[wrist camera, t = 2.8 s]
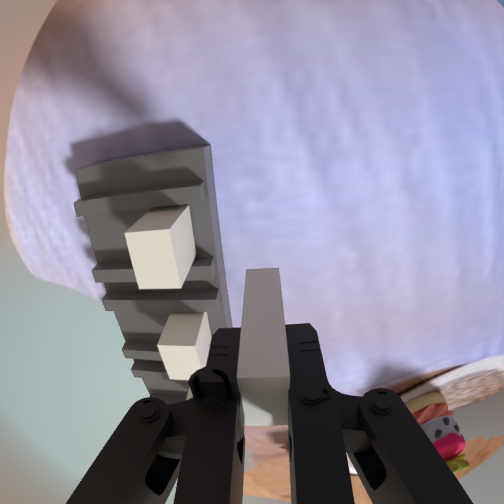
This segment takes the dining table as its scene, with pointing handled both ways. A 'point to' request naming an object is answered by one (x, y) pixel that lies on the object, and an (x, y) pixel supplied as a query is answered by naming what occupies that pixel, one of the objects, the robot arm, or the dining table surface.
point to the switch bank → (119, 262)
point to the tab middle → (185, 343)
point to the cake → (440, 428)
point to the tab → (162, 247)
